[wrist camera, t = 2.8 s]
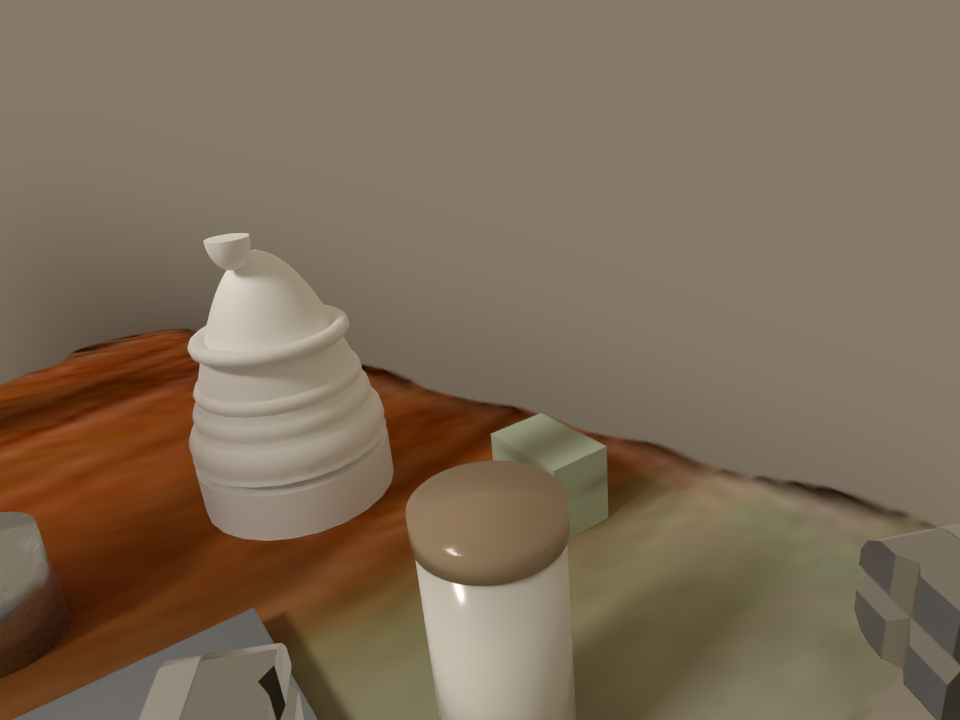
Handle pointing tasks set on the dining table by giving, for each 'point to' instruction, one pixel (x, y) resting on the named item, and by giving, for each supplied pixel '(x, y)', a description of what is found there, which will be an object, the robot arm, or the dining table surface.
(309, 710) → the serving board
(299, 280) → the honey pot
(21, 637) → the metal tin
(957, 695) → the robot arm
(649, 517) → the dining table surface
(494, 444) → the sage block
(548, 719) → the white lidded jar
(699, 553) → the dining table surface
